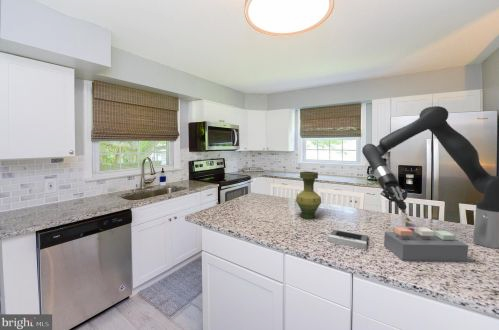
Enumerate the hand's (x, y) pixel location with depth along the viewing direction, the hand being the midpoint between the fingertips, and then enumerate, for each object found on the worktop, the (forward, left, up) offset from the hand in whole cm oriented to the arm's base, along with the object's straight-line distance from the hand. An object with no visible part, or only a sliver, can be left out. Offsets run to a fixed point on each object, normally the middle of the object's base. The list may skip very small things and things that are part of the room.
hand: (403, 209), depth 100 cm
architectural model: (-24, -36, -21) cm, 48 cm away
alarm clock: (+18, -14, -21) cm, 31 cm away
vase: (+31, -49, -20) cm, 61 cm away
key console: (-9, 0, -20) cm, 22 cm away
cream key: (-9, 0, -15) cm, 17 cm away
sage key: (-18, 0, -16) cm, 24 cm away
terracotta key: (0, 0, -15) cm, 15 cm away
